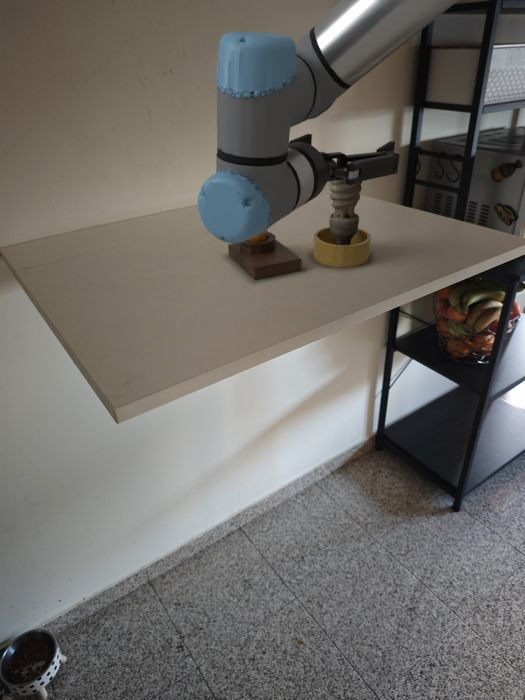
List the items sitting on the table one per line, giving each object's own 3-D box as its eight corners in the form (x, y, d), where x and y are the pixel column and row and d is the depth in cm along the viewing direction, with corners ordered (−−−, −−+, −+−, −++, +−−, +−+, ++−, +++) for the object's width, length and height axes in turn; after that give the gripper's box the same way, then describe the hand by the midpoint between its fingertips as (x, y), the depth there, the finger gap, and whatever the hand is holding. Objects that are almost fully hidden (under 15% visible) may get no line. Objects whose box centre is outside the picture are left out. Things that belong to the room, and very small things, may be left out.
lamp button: (270, 240, 90) (270, 231, 89) (252, 244, 89) (252, 234, 88) (262, 234, 93) (262, 225, 92) (244, 237, 92) (244, 228, 91)
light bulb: (332, 261, 90) (337, 175, 81) (321, 249, 94) (325, 167, 86) (360, 257, 91) (369, 172, 83) (348, 246, 95) (355, 165, 87)
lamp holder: (379, 260, 91) (382, 239, 89) (331, 271, 87) (332, 250, 85) (348, 242, 98) (350, 222, 96) (303, 251, 95) (303, 231, 93)
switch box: (301, 269, 88) (301, 248, 86) (254, 280, 85) (254, 258, 83) (271, 247, 97) (271, 227, 95) (228, 255, 94) (227, 235, 92)
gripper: (208, 195, 70) (278, 163, 85) (381, 223, 60) (425, 180, 75) (204, 138, 66) (278, 115, 81) (389, 157, 55) (434, 126, 71)
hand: (349, 146), depth 78 cm, fingers open, 13 cm apart
